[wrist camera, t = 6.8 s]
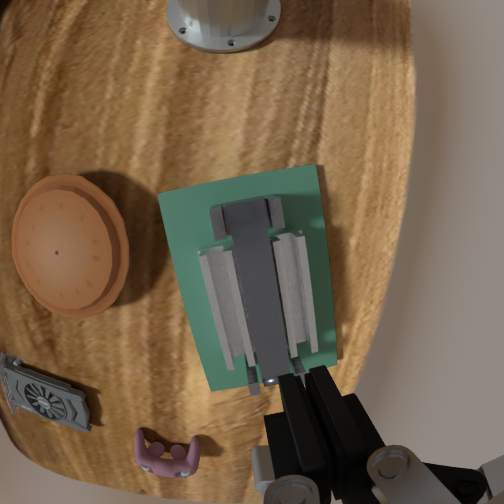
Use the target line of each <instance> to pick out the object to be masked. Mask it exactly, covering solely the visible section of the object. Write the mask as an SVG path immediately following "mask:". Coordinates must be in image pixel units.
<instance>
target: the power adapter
mask: <svg viewBox="0 0 504 504" xmlns="http://www.w3.org/2000/svg"><path fill="white" fill-rule="evenodd" d="M251 459H252V467H253V475H254V483H255V490H257V491H261V498H262V500H263V501H264V494H265V490H266V489H267V488H268V486H269V485H270V484H271V483H272V482H273V481H275V476H274V470H273V465H272V460H271V454H270V449H269V446H255V447H253V448H252V452H251Z"/></svg>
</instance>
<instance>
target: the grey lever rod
mask: <svg viewBox="0 0 504 504" xmlns="http://www.w3.org/2000/svg"><path fill="white" fill-rule="evenodd" d="M226 209H227V214H228V219H229V224H230V229H231V234H232V239H233V244H234V249H235V254H236V259H237V264H238V269H239V274H240V279H241V283H242V288H243V293H244V298H245V303H246V308H247V312H248V317H249V322H250V327H251V331H252V336H253V341H254V345H255V350H256V355H257V359H258V364H259V369H260V373H261V378H262V382H263V383H264V387H266V386H271V385H276V384H279V382H278V376H280V375H284V374H289V373H291V369H290V363H289V356H288V350H287V343H286V337H285V330H284V324H283V317H282V311H281V305H280V299H279V292H278V286H277V280H276V274H275V268H274V262H273V256H272V250H271V244H270V238H269V233H268V227H267V221H266V218H267V213H266V207H265V202H264V198H263V197H256V198H251V199H246V200H240V201H235V202H230V203H226Z"/></svg>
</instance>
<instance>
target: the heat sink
mask: <svg viewBox="0 0 504 504" xmlns="http://www.w3.org/2000/svg"><path fill="white" fill-rule="evenodd" d="M258 197H263V198H264V202H265V207H266V213H267V218H266V221H267V227H268V228H272V229H273V230H274V229H280V228H285V222H284V216H283V210H282V204H281V198H280V197H278V196H275V195H271V194H269V195H263V196H258ZM252 198H256V197H252ZM247 199H251V198H247ZM241 200H246V199H241ZM236 201H240V200H236ZM231 202H235V201H231ZM226 203H230V202H226ZM226 203H221V204H216V205H212V206H211V208H210V210H209V214H210V218H211V223H212V228H213V233H214V238H215V241H218V240H223V239H227V235H228V236H231V235H232V234H231V229H230V224H229V219H228V214H227V209H226ZM269 238H270V244H271V250H272V256H273V262H274V268H275V274H276V280H277V286H278V292H279V299H280V305H281V311H282V317H283V324H284V330H285V337H286V343H287V350H288V356H289V363H290V366H291V369H292V371H293V374H294V376H298V375H300V376H301V379H302V382H303V384H305V379H304V374H306V371H305V369H304V366H303V364H302V362H301V359H300V357H299V354H298V352H297V346H296V343H300V342H304V341H306V343H307V345H308V347H309V349H310V351H311V353H314V352H318V342H317V332H316V323H315V313H314V304H313V296H312V287H311V279H310V271H309V263H308V256H307V249H306V242H305V236H304V235H303V234H302V230H300V229H299V228H297V227H295V228H290V229H285V230H280V231H274V232H269ZM197 252H198V257H199V261H200V265H201V269H202V274H203V278H204V282H205V286H206V290H207V294H208V298H209V302H210V306H211V310H212V314H213V318H214V322H215V326H216V330H217V333H218V337H219V341H220V345H221V348H222V352H223V356H224V359H225V362H226V366H227V370H228V371H229V370H235V367H234V356H238V355H245V363H246V371H247V379H248V385H249V389H250V393H251V396H252V395H258V394H261V392H260V386H259V381H258V375H257V370H256V364H255V358H254V352H256V350H255V345H254V341H253V336H252V331H251V327H250V322H249V317H248V312H247V308H246V303H245V298H244V293H243V288H242V283H241V279H240V274H239V269H238V264H237V259H236V254H235V249H234V244H233V240H228V241H223V242H218V243H213V244H208V245H203V246H199V248H198V250H197Z"/></svg>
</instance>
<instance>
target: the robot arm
mask: <svg viewBox="0 0 504 504" xmlns="http://www.w3.org/2000/svg"><path fill="white" fill-rule="evenodd" d="M280 14H281V3H280V0H169V2H168V5H167V20H168V24H169V26H170V28H171V30H172V32H173V33H174V34H175V36H176V37H177V38H178V39H180V40H181V41H182V42H183V43H185V44H187V45H189V46H190V47H192V48H195V49H198V50H201V51H207V52H212V53H228V52H236V51H240V50H244V49H247V48H250V47H252V46H255V45H257V44H258V43H260V42H262V41H263V40H265V39H266V38H267V37H268V36H269V35H270V34H271V33H272V32H273V30H274V29H275V28H276V26H277V24H278V21H279V18H280ZM271 21H272V22H271ZM182 33H184V34H182ZM229 45H234V46H229ZM304 379H305V387H306V389H305V387H304V384H303V382H302V379H301V376H300V375H298V376H294V374H293V373H289V374H284V375H280V376H278V382H279V388H280V393H281V399H282V404H283V410H284V412H280V413H275V414H270V415H265V416H264V422H265V427H266V433H267V438H268V444H269V449H270V454H271V460H272V465H273V470H274V476H275V481H273V482H272V483H271V484H270V485H269V486H268V488H267V489H266V490H265V494H264V504H330V502H331V489H332V492H333V495H334V498H335V500H339V499H341V500H342V503H343V504H504V455H503V456H500V457H498V458H496V459H494V460H492V461H490V462H488V463H485V464H483V465H481V466H480V468H478V469H476V470H473V469H466V468H458V467H450V466H443V465H436V464H430V463H424V462H421V461H420V459H419V458H418V457H417V456H416V455H415V454H414V453H413V452H412V451H411V450H409V449H408V448H406V447H404V446H400V445H389V446H385V444H384V442H383V441H382V439H381V437H380V435H379V434H378V432H377V430H376V429H375V427H374V425H373V424H372V421H371V420H370V418H369V416H368V415H367V413H366V411H365V410H364V408H363V406H362V404H361V403H360V401H359V399H358V397H357V396H356V395H355V394H354V393H352V394H349V395H345V396H341V394H340V392H339V390H338V388H337V386H336V384H335V383H334V381H333V379H332V377H331V375H330V373H329V371H328V369H327V367H326V366H325V365H321V366H318V367H314V368H310V369H309V373H306V374H304Z"/></svg>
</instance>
